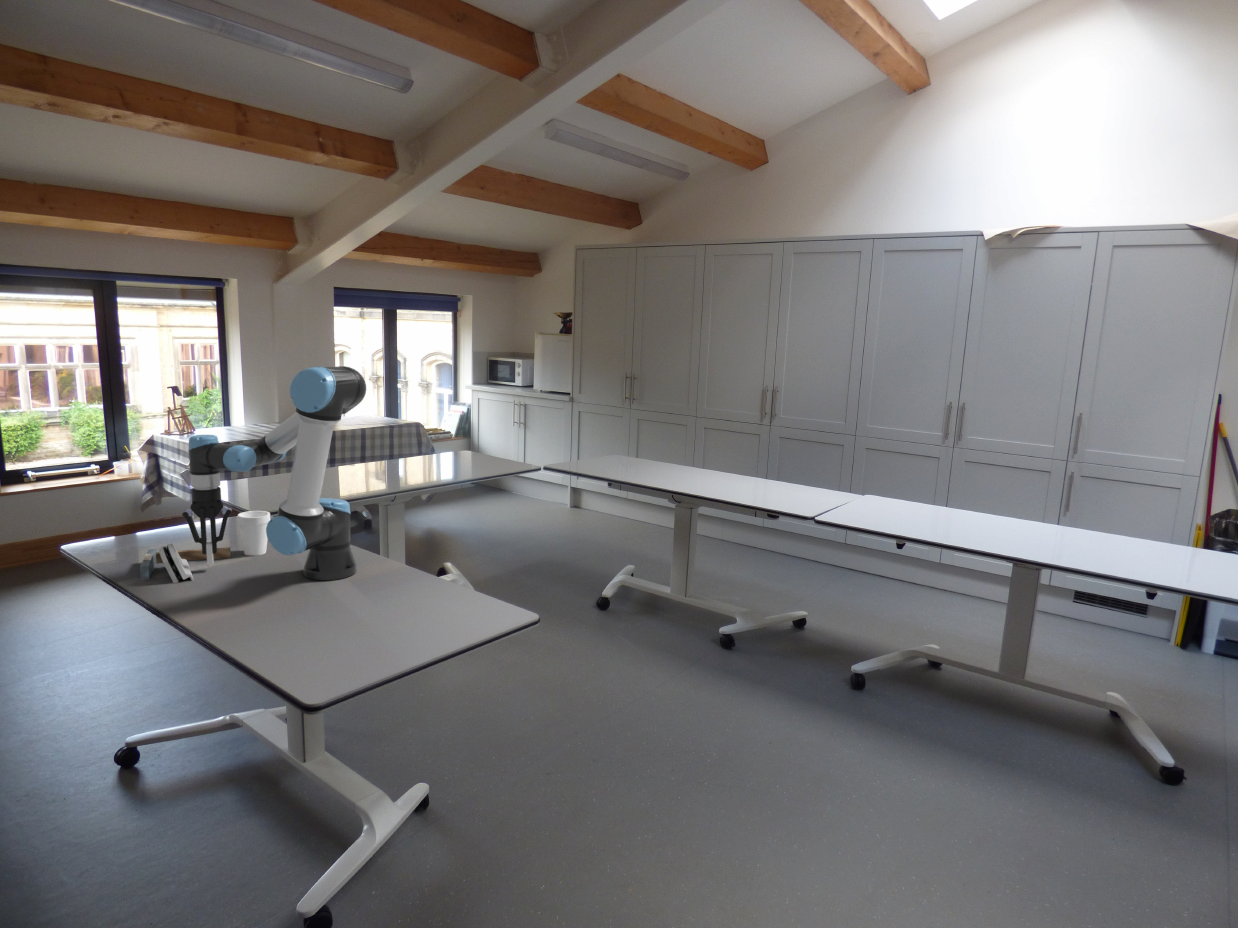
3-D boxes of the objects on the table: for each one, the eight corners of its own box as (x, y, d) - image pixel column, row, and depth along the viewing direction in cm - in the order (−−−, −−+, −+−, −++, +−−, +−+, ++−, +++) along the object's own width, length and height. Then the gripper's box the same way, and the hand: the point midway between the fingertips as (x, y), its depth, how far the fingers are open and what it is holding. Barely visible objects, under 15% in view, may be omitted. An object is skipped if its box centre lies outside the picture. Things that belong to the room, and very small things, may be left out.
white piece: (194, 580, 207) (178, 550, 203) (176, 588, 204) (160, 558, 201) (188, 564, 220) (174, 535, 217) (171, 571, 218) (156, 542, 214)
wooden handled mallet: (230, 556, 230) (230, 543, 229) (228, 572, 215) (227, 559, 214) (149, 562, 220) (148, 548, 219) (140, 579, 205) (139, 565, 204)
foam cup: (277, 549, 238) (275, 512, 236) (260, 558, 229) (259, 518, 227) (250, 547, 239) (248, 509, 237) (232, 555, 230) (231, 516, 228)
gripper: (231, 483, 218) (235, 558, 222) (181, 485, 212) (186, 562, 216) (230, 488, 211) (234, 565, 215) (178, 490, 205) (184, 569, 209)
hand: (210, 563), depth 215 cm, fingers closed
